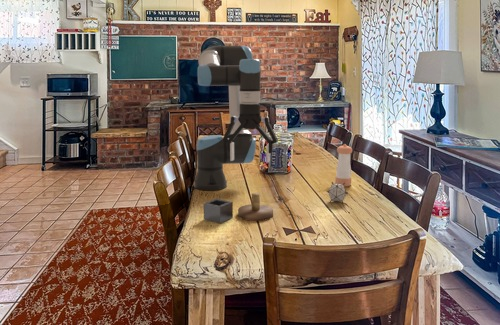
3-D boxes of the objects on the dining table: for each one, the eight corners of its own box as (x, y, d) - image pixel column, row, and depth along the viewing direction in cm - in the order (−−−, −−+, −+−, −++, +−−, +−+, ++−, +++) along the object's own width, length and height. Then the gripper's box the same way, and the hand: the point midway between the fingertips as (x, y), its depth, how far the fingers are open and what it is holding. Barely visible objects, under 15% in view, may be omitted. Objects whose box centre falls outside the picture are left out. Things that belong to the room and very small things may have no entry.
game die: (331, 209, 177) (320, 188, 179) (349, 201, 178) (338, 180, 180) (336, 205, 168) (324, 183, 171) (355, 196, 169) (343, 174, 172)
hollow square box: (203, 219, 154) (203, 203, 153) (216, 213, 160) (216, 198, 159) (220, 223, 150) (220, 207, 149) (232, 217, 156) (232, 201, 155)
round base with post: (231, 216, 157) (231, 195, 156) (250, 207, 168) (250, 187, 166) (261, 223, 150) (261, 201, 149) (279, 213, 161) (279, 192, 159)
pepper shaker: (348, 187, 196) (350, 146, 192) (332, 185, 200) (334, 144, 196) (353, 183, 202) (355, 143, 198) (338, 181, 206) (340, 142, 202)
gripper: (213, 103, 153) (214, 161, 157) (282, 104, 147) (281, 164, 152) (220, 102, 160) (220, 157, 164) (286, 103, 154) (285, 160, 159)
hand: (250, 161), depth 158 cm, fingers open, 13 cm apart
